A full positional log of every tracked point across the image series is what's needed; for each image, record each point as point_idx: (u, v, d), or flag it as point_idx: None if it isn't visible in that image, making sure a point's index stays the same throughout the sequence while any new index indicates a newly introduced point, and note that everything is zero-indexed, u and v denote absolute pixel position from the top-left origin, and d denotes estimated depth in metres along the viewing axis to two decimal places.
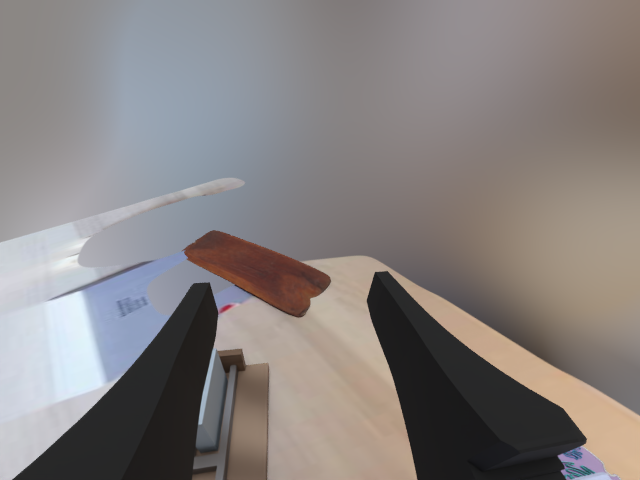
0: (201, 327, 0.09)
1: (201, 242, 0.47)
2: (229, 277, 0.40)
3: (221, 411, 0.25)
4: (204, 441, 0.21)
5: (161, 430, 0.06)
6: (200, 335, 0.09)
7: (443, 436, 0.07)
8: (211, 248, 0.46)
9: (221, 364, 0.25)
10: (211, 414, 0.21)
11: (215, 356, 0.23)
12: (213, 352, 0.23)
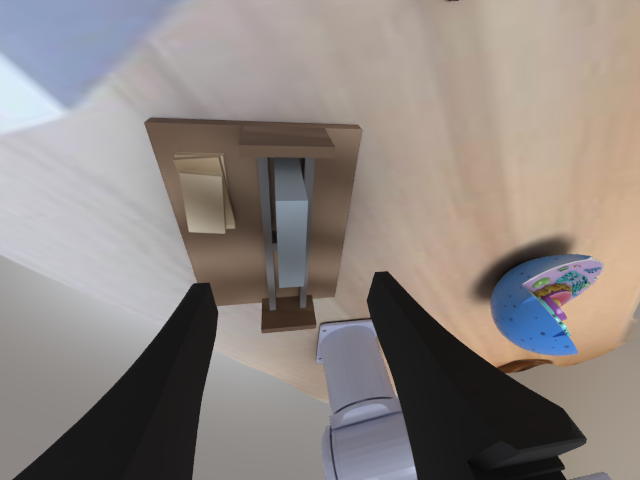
0: (201, 327, 0.09)
1: None
2: None
3: None
4: None
5: (161, 430, 0.06)
6: (200, 335, 0.09)
7: (443, 436, 0.07)
8: None
9: (302, 177, 0.14)
10: None
11: None
12: (303, 207, 0.12)
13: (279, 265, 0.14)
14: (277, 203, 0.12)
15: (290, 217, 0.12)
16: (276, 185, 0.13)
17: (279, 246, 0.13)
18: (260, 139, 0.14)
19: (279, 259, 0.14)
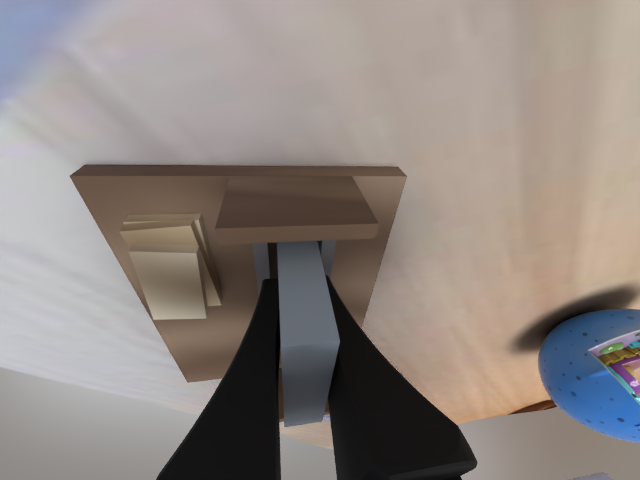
0: (279, 320, 0.10)
1: None
2: None
3: None
4: None
5: (276, 413, 0.07)
6: (278, 328, 0.10)
7: (348, 453, 0.07)
8: None
9: None
10: None
11: None
12: (330, 348, 0.07)
13: (285, 409, 0.09)
14: (284, 349, 0.06)
15: (306, 362, 0.07)
16: (281, 296, 0.08)
17: (286, 392, 0.08)
18: (254, 210, 0.08)
19: (285, 403, 0.09)
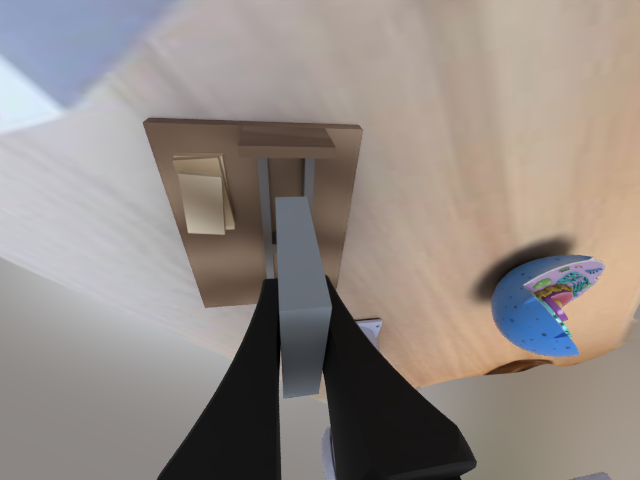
0: (279, 320, 0.10)
1: None
2: None
3: None
4: None
5: None
6: (279, 327, 0.10)
7: (348, 453, 0.07)
8: None
9: None
10: None
11: None
12: (323, 314, 0.08)
13: (284, 378, 0.10)
14: (282, 313, 0.07)
15: (302, 327, 0.08)
16: (280, 271, 0.08)
17: (284, 359, 0.09)
18: (260, 139, 0.14)
19: (284, 372, 0.09)
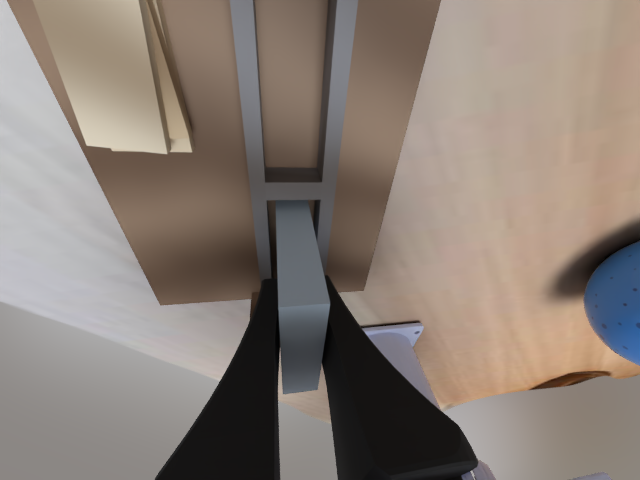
0: (278, 320, 0.10)
1: None
2: None
3: None
4: None
5: (275, 413, 0.07)
6: (278, 327, 0.10)
7: (349, 453, 0.07)
8: None
9: None
10: None
11: None
12: (321, 311, 0.08)
13: (283, 373, 0.10)
14: (281, 310, 0.07)
15: (300, 324, 0.08)
16: (279, 268, 0.08)
17: (283, 355, 0.09)
18: None
19: (283, 368, 0.10)
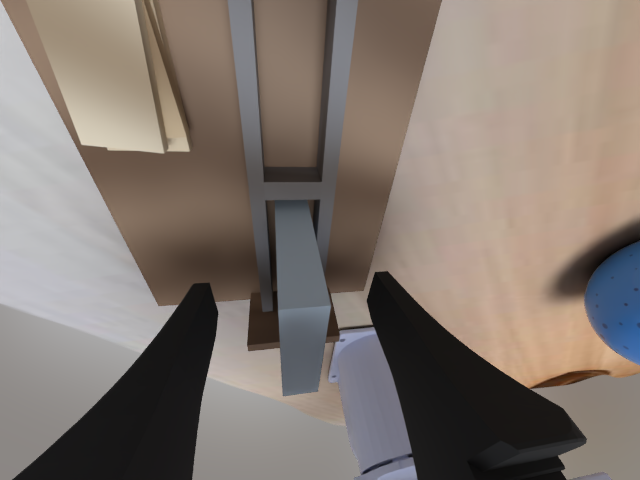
0: (201, 327, 0.09)
1: None
2: None
3: None
4: None
5: (161, 430, 0.06)
6: (200, 335, 0.09)
7: (443, 436, 0.07)
8: None
9: None
10: None
11: None
12: (322, 313, 0.08)
13: (283, 376, 0.10)
14: (281, 312, 0.07)
15: (301, 326, 0.08)
16: (279, 269, 0.08)
17: (283, 358, 0.09)
18: None
19: (283, 370, 0.09)
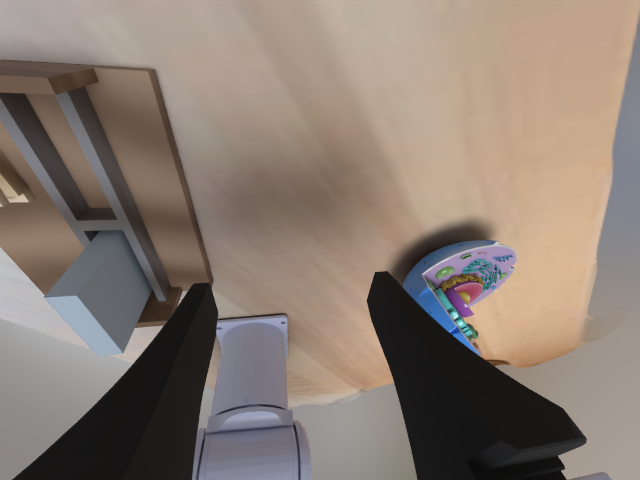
0: (201, 327, 0.09)
1: None
2: None
3: (140, 265, 0.20)
4: None
5: (161, 430, 0.06)
6: (200, 335, 0.09)
7: (443, 436, 0.07)
8: None
9: (103, 261, 0.16)
10: (128, 313, 0.18)
11: (84, 299, 0.14)
12: (75, 300, 0.14)
13: (84, 340, 0.16)
14: (46, 299, 0.13)
15: (67, 307, 0.14)
16: (63, 275, 0.14)
17: (73, 327, 0.15)
18: None
19: (81, 336, 0.16)
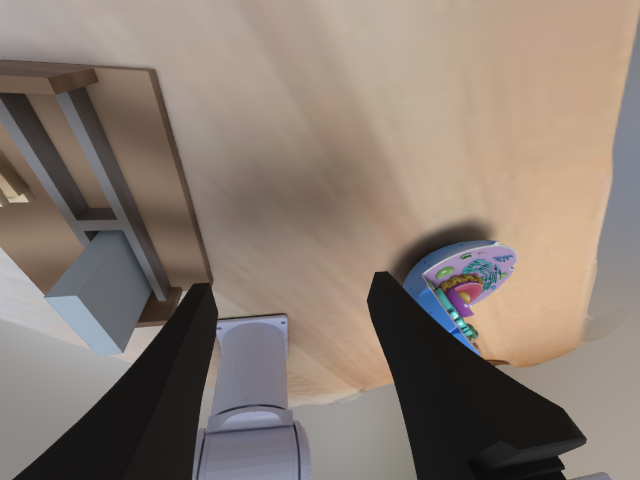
0: (201, 327, 0.09)
1: None
2: None
3: (140, 265, 0.20)
4: None
5: (161, 430, 0.06)
6: (200, 335, 0.09)
7: (443, 436, 0.07)
8: None
9: (103, 261, 0.16)
10: (128, 313, 0.18)
11: (84, 299, 0.14)
12: (75, 300, 0.14)
13: (84, 340, 0.16)
14: (46, 299, 0.13)
15: (67, 307, 0.14)
16: (63, 275, 0.14)
17: (73, 327, 0.15)
18: None
19: (81, 336, 0.16)
